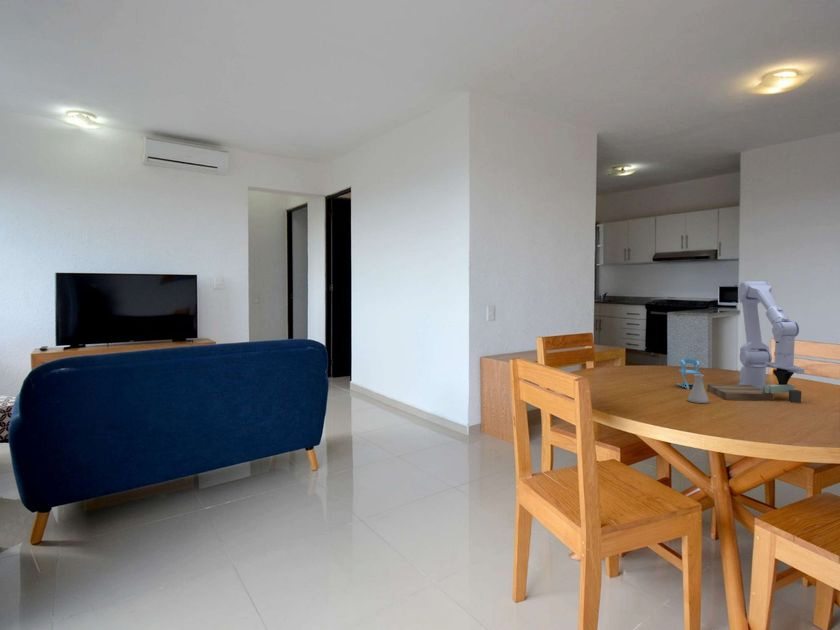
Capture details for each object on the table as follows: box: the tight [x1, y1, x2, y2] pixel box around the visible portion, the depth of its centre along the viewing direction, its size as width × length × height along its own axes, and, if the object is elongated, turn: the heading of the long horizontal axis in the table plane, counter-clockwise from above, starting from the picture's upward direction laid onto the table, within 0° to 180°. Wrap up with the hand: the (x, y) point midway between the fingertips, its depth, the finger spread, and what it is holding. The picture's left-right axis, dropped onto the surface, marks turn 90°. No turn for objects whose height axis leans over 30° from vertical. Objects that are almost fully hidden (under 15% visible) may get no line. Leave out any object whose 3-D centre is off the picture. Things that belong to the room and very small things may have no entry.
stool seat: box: [707, 383, 775, 402], centre depth 186 cm, size 16×16×2 cm
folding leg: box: [761, 383, 795, 394], centre depth 178 cm, size 11×3×2 cm, turn 95°
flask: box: [687, 373, 710, 404], centre depth 177 cm, size 7×7×10 cm
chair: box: [676, 358, 701, 390], centre depth 200 cm, size 8×8×12 cm
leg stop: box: [788, 389, 802, 403], centre depth 174 cm, size 2×3×4 cm, turn 82°
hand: (782, 389), depth 180 cm, fingers closed, pressing on folding leg
